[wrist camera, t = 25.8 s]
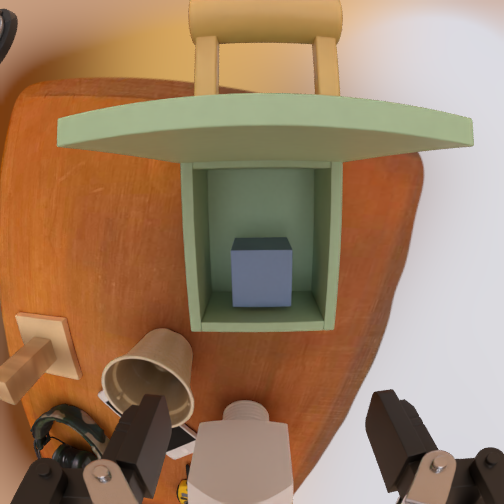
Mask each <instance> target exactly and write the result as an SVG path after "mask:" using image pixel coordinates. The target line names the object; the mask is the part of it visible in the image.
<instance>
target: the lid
mask: <svg viewBox="0 0 504 504" xmlns="http://www.w3.org/2000/svg"><path fill="white" fill-rule="evenodd" d="M188 12H189V14H188V17H189V29H190V34H191V38H192V41H193V43H194V44H195V77H194V78H195V79H194V96H189V97H179V98H169V99H160V100H153V101H145V102H138V103H132V104H125V105H120V106H114V107H108V108H103V109H98V110H93V111H88V112H84V113H79V114H75V115H71V116H66V117H62V118H59V119H58V125H57V146H58V147H64V148H73V149H83V150H91V151H100V152H108V153H115V154H122V155H130V156H137V157H143V158H150V159H156V160H162V161H168V162H174V163H194V162H216V161H257V160H287V161H329V162H348V161H354V160H361V159H367V158H374V157H381V156H388V155H396V154H404V153H412V152H420V151H429V150H438V149H448V148H459V147H471V146H473V145H474V139H473V123H472V119H471V118H467V117H463V116H459V115H455V114H451V113H446V112H442V111H437V110H432V109H427V108H422V107H417V106H411V105H405V104H399V103H392V102H386V101H379V100H371V99H362V98H352V97H342V96H340V86H339V72H338V59H337V47H336V45H337V43H338V41H339V39H340V36H341V31H342V21H343V17H342V16H343V15H342V7H341V3H340V0H190V2H189V11H188ZM258 42H259V43H263V42H264V43H268V42H269V43H272V42H273V43H301V44H312V48H313V64H314V82H315V95H313V94H290V93H241V94H219V44H226V43H258Z"/></svg>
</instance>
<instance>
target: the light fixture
mask: <svg viewBox="0 0 504 504" xmlns="http://www.w3.org/2000/svg"><path fill="white" fill-rule="evenodd" d="M187 488H188V504H293V475H292V465H291V455H290V445H289V435H288V425H287V424H284V423H278V422H271V421H269V414H268V412H267V411H266V409H265V408H264V407H263V406H262V405H261V404H259V403H257V402H254V401H249V400H242V401H236V402H234V403H231V404H230V405H228V406H227V407H226V408H225V410H224V412H223V419H222V420H220V421H209V422H202V423H200V424H199V428H198V433H197V438H196V442H195V447H194V452H193V456H192V461H191V466H190V471H189V475H188V480H187Z"/></svg>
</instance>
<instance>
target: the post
mask: <svg viewBox="0 0 504 504" xmlns="http://www.w3.org/2000/svg"><path fill="white" fill-rule="evenodd" d="M15 317H16V320H17V324H18V327H19V330H20V334H21V337H22V340H23V343H24V346H23V347H22V348H20V349H19V350H18V351H17V352H16V353H15V354H14V355H13V356H11V357H10V358H9V359H8V360H7V361H6V362H5V363H4V364H2V365H1V366H0V399H1V400H3V401H6V402H8V403H11V404H13V405H16V404H17V403H18V402H19V400H20V399H21V398H22V397H23V396H24V395H25V394H26V393H27V391H28V390H29V389H30V388H31V387H32V386H33V385H34V384H35V383H36V381H37V380H38V379H39V378H40V377H41V376H42V375H43V374H44V373H49V374H53V375H58V376H62V377H67V378H72V379H77V380H79V379H80V378H81V377H82V372H81V369H80V366H79V363H78V359H77V356H76V353H75V349H74V346H73V342H72V338H71V335H70V331H69V327H68V323H67V319H66V318H64V317H55V316H47V315H38V314H31V313H23V312H19V313H18V314H16V315H15Z"/></svg>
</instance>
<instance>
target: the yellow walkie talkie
mask: <svg viewBox="0 0 504 504" xmlns="http://www.w3.org/2000/svg"><path fill="white" fill-rule="evenodd" d="M189 471H190V466H189V465H188V464H187V465H186V473H187V480H188V475H189ZM187 480H182V481H181V482H180V485H178V488H177V498H178V500H179V502H181V504H188V488H187Z"/></svg>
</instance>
